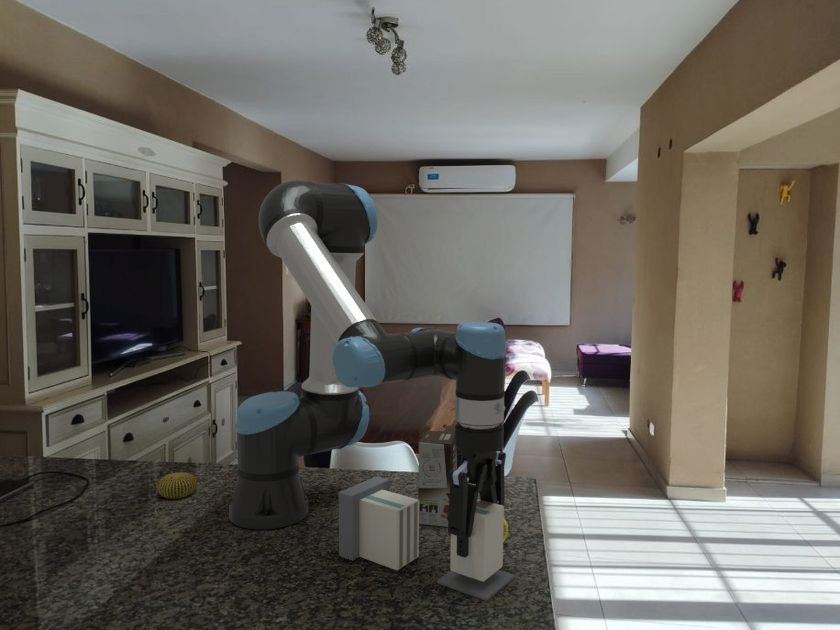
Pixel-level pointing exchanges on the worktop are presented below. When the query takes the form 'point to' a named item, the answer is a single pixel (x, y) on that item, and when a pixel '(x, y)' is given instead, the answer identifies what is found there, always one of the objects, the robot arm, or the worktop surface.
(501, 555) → the stub
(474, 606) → the worktop surface
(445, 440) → the coffee box
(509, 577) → the mat
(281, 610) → the worktop surface
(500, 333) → the robot arm
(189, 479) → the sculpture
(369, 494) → the pad
